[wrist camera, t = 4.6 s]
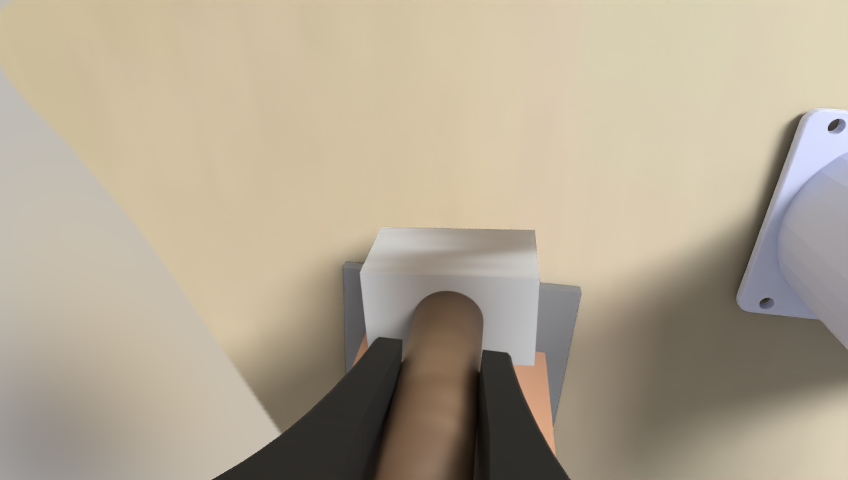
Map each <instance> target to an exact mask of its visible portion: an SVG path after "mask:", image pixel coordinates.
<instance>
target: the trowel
mask: <svg viewBox="0 0 848 480" xmlns="http://www.w3.org/2000/svg"><path fill="white" fill-rule="evenodd" d="M360 280H361V289H362V298H363V307H364V316H365V324H366V333H367V342H368V348H369V347H370V345H371V344H372V343H373V341H374V340H375V339H376V338H378V337H386V338H394V339H402V340H403V344H402V359H403V360H402V365H401V368H400V372H399V376H398V380H397V384H396V387H395V391H394V395H393V398H392V402H391V406H390V410H389V414H388V417H387V421H386V425H385V429H384V433H383V436H382V440H381V444H380V448H379V452H378V455H377V459H376V463H375V467H374V471H373V475H372V478H371V480H473V479H474V463H475V448H476V432H477V417H478V392H479V377H480V367H481V359H482V350H491V351H499V352H507V353H508V354H509V355H510V356H511V358H512V363H513V365H529V366H534V363H535V347H536V330H537V314H538V298H539V282H540V276H539V267H538V257H537V248H536V238H535V230H501V229H450V228H400V227H381V229H380V231H379V233H378V235H377V237H376V240H375V242H374V244H373V246H372V248H371V250H370V252H369V254H368V256H367V258H366V260H365V263H364V265H363V267H362V269H361V271H360Z"/></svg>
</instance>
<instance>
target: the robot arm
mask: <svg viewBox="0 0 848 480" xmlns="http://www.w3.org/2000/svg"><path fill="white" fill-rule="evenodd" d="M835 119H839V125H838V126H837V127H836V128H835V129H834V130H832V131H828V125H829V124H830V122H832V121H833V120H835ZM764 298H770V299H769V300H768V301H767V302H766V303H763V304H759V303H760V301H761V300H762V299H764ZM736 301H737V304H738V305H739V307H740V308H741V309H742V310H744V311H747V312H753V313H762V314H772V315H781V316H790V317H799V318H808V319H818V320H821V321H822V322H823V323H824V324H825V326H826V327H827V328H828V329H829V330H830V331H831V332H832V333H833V334H834V336H835V337H836V338H837V339H838V340H839V341H840V342H841V343H842V344H843V345H844V347H845V348H846V349H847V350H848V110H842V109H828V108H816V109H813V110H810V111H808V112H807V113H806V114H805V115H804V116H803V117H802V118H801V120H800V122H799V125H798V128H797V130H796V133H795V136H794V139H793V141H792V144H791V147H790V150H789V152H788V155H787V158H786V161H785V163H784V166H783V169H782V172H781V174H780V177H779V180H778V183H777V186H776V188H775V191H774V194H773V197H772V199H771V202H770V205H769V208H768V210H767V213H766V216H765V219H764V221H763V224H762V227H761V230H760V232H759V235H758V238H757V241H756V243H755V246H754V249H753V252H752V254H751V257H750V260H749V263H748V265H747V268H746V271H745V274H744V276H743V279H742V282H741V285H740V288H739V290H738V293H737V296H736ZM402 344H403V340H402V339H394V338H386V337H378V338H376V339H375V340H374V341H373V343H372V344H371V345H370V347H369V348H368V349H367V351H366V352H365V353H364V354H363V356H362V357H361V358H360V359H359V360H358V362H357V363H356V364H355V365H354V366H353V367H352V369H351V370H350V371H349V372H348V373H347V374H346V375H345V376H344V377H343V378H342V379H341V381H340V382H339V383H338V384H337V385H336V386H335V387H334V388H333V389H332V390H331V391H330V392H329V393H328V394H327V395H326V396H325V397H324V398H323V399H322V400H321V401H320V402H319V403H318V404H317V405H315V406H314V407H313V408H312V409H311V410H310V411H309V412H308V413H307V414H306V415H305V416H303V417H302V418H301V419H300V420H299V421H298V422H296V423H295V424H294V425H293V426H291V427H290V428H289V429H288V430H286V431H285V432H284V433H283V434H281V435H280V436H279V437H277V438H276V439H275V440H273V441H272V442H270V443H269V444H268V445H266V446H265V447H264V448H262V449H261V450H260V451H258V452H257V453H255V454H253V455H252V456H251V457H249V458H247V459H246V460H245V461H243V462H241V463H240V464H238V465H236V466H235V467H233V468H232V469H229V470H228V471H226V472H224V473H223V474H221V475H219V476H218V477H216V478H214V479H212V480H371V478H372V475H373V471H374V467H375V463H376V459H377V455H378V452H379V448H380V444H381V440H382V436H383V433H384V429H385V425H386V421H387V417H388V414H389V410H390V406H391V402H392V398H393V395H394V391H395V387H396V384H397V380H398V376H399V372H400V368H401V365H402ZM473 480H570V478H569V477H568V475H567V474H566V472H565V471H564V469H563V468H562V466H561V465H560V463H559V462H558V460H557V458H556V457H555V455H554V453H553V452H552V450H551V448H550V447H549V445H548V443H547V441H546V439H545V438H544V436H543V434H542V432H541V430H540V428H539V426H538V424H537V422H536V421H535V418H534V416H533V414H532V412H531V410H530V408H529V406H528V403H527V401H526V399H525V397H524V394H523V392H522V389H521V387H520V384H519V381H518V379H517V376H516V373H515V370H514V366H513V363H512V358H511V356H510V355H509V354H508V353H507V352H499V351H491V350H482V359H481V367H480V377H479V392H478V417H477V432H476V448H475V463H474V479H473Z"/></svg>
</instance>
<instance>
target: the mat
mask: <svg viewBox="0 0 848 480" xmlns="http://www.w3.org/2000/svg"><path fill="white" fill-rule="evenodd" d="M363 265H364V264H362V263H353V262H346V263H345V265H344V267H343V285H344V324H345V363H346V374H347V373H348V372H349V371H350V370H351V369H352V366H353V364H354V361H355V359H356V356H357V353H358V351H359V348H360V346H361V343H362V341H363V338H364V335H365V333H366V324H365V316H364V307H363V298H362V289H361V280H360V271H361V269H362V267H363ZM580 297H581V290H580V287H576V286H567V285H558V284H548V283H539V298H538V314H537V330H536V347H535V351H536V352H544V353H545V356H546V366H547V375H548V385H549V395H550V404H551V414H552V423H553V427H554V422H555V417H556V412H557V407H558V403H559V398H560V393H561V388H562V384H563V379H564V374H565V369H566V364H567V360H568V355H569V350H570V345H571V340H572V336H573V331H574V326H575V321H576V316H577V312H578V307H579V302H580Z"/></svg>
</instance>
